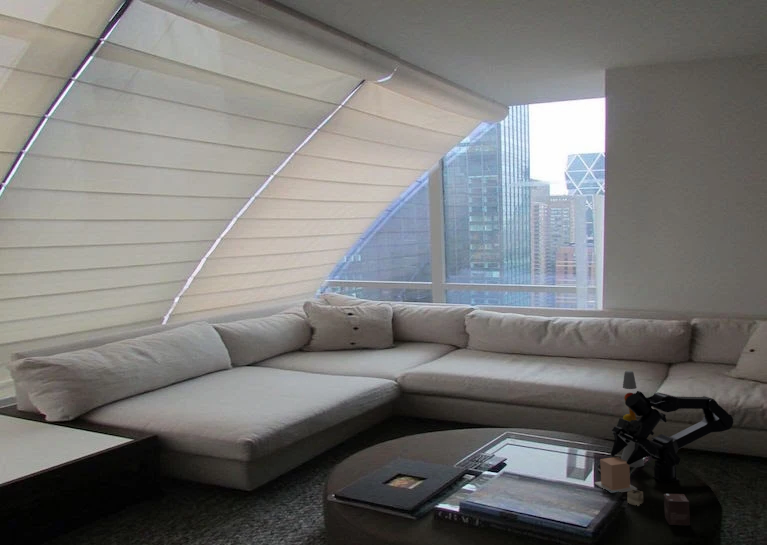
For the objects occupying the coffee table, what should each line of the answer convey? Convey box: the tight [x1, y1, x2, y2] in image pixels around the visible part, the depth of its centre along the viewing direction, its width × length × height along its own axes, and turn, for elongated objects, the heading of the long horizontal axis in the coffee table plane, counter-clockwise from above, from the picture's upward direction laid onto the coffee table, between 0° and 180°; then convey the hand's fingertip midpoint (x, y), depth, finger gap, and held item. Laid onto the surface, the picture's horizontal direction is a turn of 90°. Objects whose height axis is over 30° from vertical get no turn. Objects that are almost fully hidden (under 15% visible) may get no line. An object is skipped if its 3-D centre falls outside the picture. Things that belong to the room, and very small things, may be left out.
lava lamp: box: [620, 370, 645, 468], centre depth 247 cm, size 9×9×35 cm
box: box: [663, 493, 691, 526], centre depth 197 cm, size 6×6×7 cm
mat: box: [593, 480, 638, 493], centre depth 226 cm, size 10×10×1 cm
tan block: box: [599, 456, 631, 490], centre depth 226 cm, size 7×7×8 cm
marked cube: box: [626, 489, 644, 507], centre depth 212 cm, size 4×4×4 cm
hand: (619, 459), depth 226 cm, fingers open, 9 cm apart
